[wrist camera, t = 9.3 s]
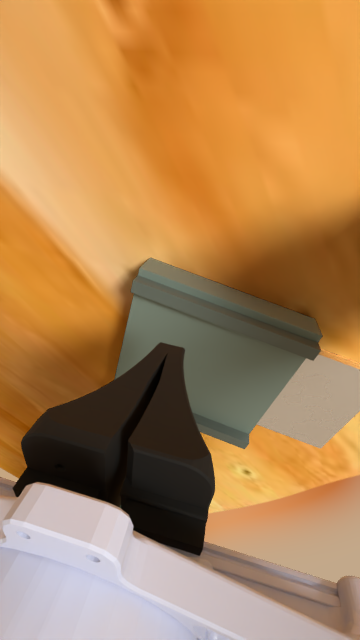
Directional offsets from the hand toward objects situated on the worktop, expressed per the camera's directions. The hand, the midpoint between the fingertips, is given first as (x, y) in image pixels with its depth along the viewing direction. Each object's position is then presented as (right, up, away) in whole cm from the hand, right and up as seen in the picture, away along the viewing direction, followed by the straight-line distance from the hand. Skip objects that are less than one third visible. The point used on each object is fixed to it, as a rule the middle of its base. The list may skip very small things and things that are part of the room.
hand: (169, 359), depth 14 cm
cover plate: (+13, -5, +11) cm, 18 cm away
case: (+3, -1, +11) cm, 12 cm away
